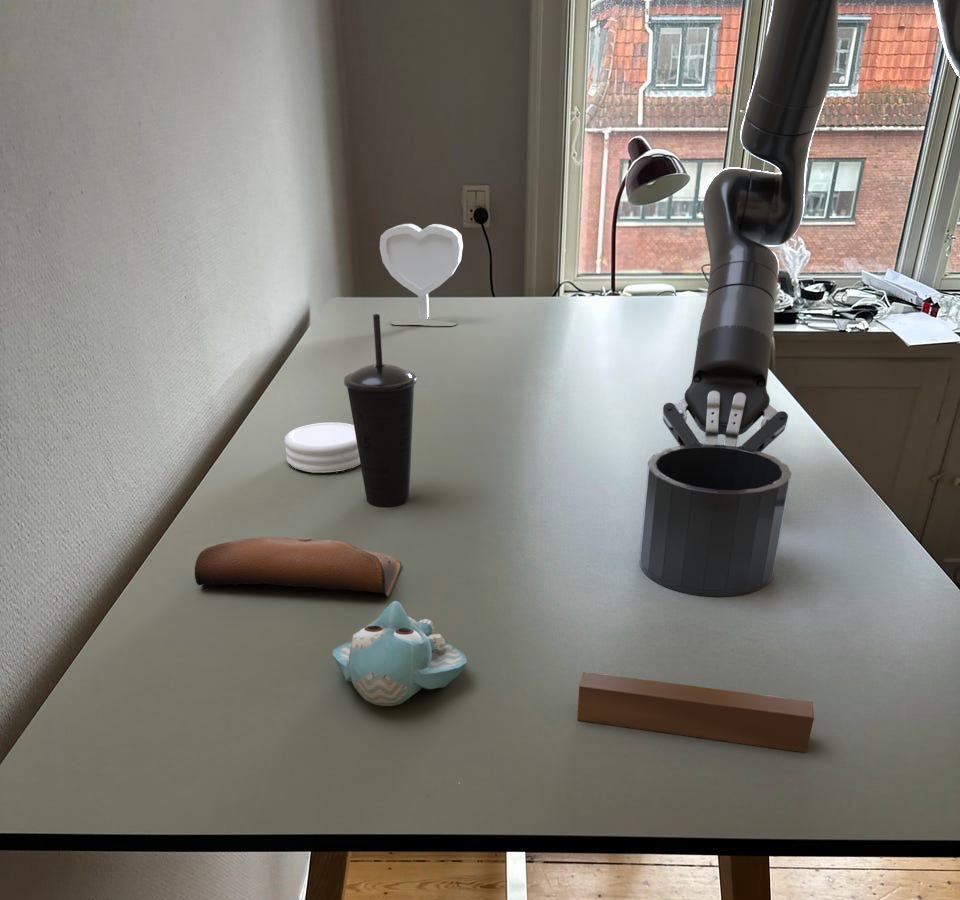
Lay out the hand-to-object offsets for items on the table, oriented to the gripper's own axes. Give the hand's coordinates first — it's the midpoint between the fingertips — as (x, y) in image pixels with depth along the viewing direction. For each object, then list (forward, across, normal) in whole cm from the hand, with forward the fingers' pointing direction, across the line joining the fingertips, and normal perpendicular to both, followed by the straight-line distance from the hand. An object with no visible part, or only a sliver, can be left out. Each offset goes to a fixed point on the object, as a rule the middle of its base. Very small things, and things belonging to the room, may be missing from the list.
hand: (713, 497), depth 92 cm
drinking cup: (+2, -36, +5) cm, 36 cm away
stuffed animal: (+26, -22, -20) cm, 40 cm away
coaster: (-5, -47, +12) cm, 49 cm away
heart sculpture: (-59, -60, +68) cm, 108 cm away
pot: (+8, 0, -2) cm, 8 cm away
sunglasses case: (+17, -36, -10) cm, 41 cm away
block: (+27, +1, -21) cm, 34 cm away
